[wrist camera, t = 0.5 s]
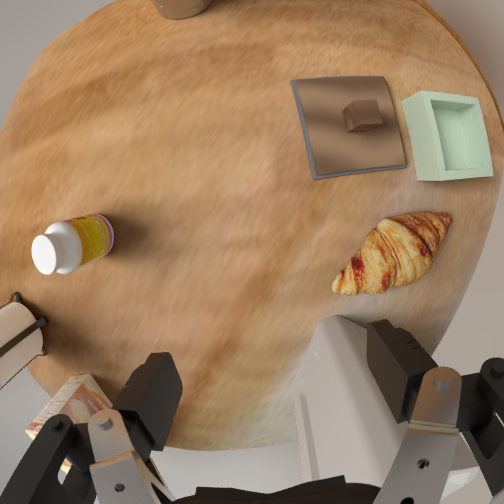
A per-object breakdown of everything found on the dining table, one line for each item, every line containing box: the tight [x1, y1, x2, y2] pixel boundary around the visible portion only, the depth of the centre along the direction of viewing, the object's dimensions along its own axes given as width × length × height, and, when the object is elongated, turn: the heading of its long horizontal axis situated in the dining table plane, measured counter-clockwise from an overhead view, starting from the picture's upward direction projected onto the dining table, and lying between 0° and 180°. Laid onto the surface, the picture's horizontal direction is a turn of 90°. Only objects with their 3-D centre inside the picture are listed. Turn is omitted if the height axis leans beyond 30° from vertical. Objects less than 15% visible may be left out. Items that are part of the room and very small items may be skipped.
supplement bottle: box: [32, 214, 114, 274], centre depth 31 cm, size 7×7×13 cm
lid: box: [295, 77, 406, 175], centre depth 29 cm, size 13×13×6 cm
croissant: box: [332, 211, 452, 296], centre depth 34 cm, size 21×10×8 cm, turn 122°
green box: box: [401, 91, 493, 181], centre depth 29 cm, size 12×12×6 cm
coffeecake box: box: [25, 374, 113, 474], centre depth 36 cm, size 15×7×20 cm, turn 21°
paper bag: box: [292, 315, 480, 500], centre depth 26 cm, size 19×15×28 cm
